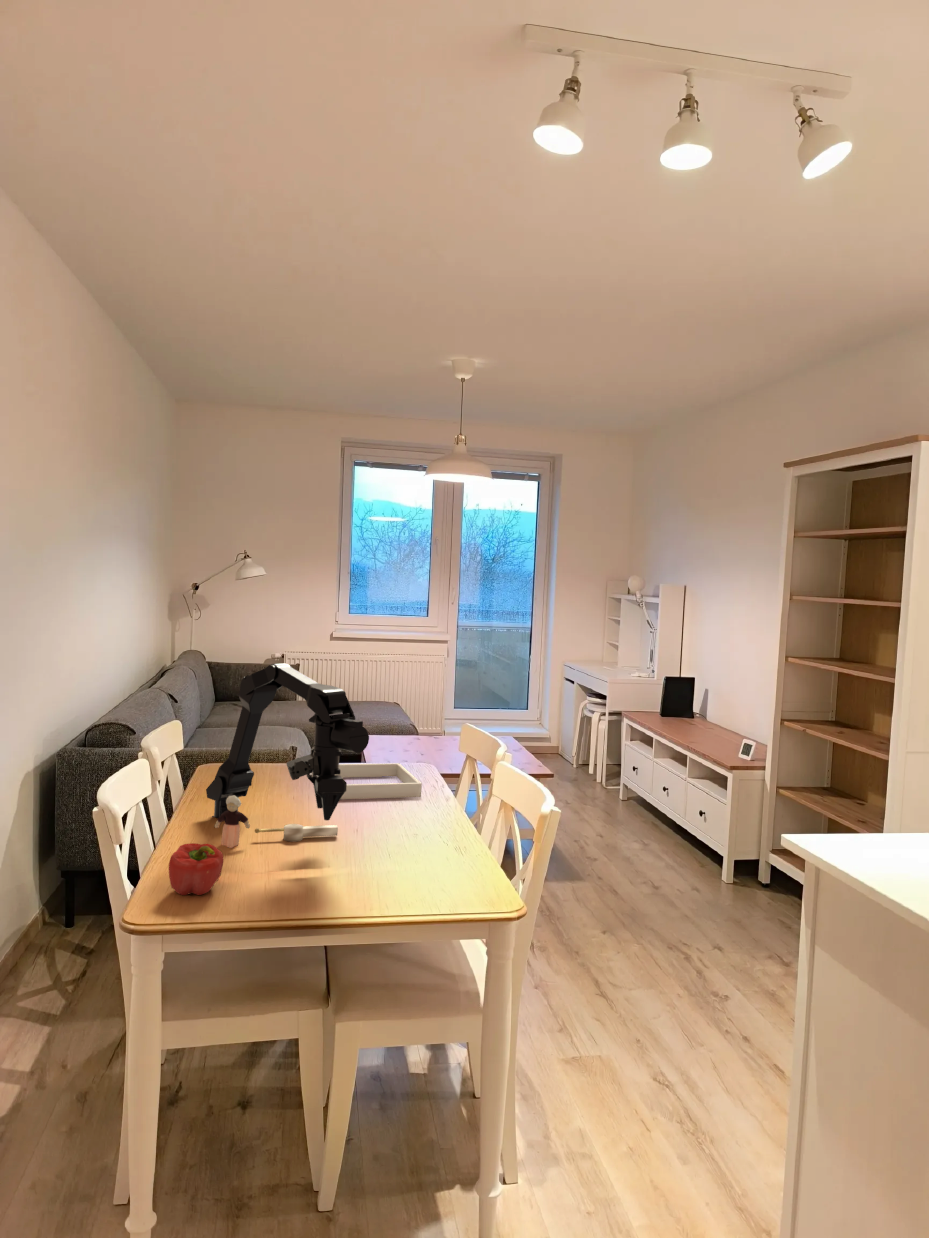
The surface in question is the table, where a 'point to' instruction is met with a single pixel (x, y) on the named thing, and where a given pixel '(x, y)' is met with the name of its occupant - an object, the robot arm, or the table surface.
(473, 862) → the table surface
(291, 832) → the beige dial pointer lever
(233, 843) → the grandmother figurine
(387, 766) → the tray
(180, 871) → the vegetable
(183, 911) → the table surface
